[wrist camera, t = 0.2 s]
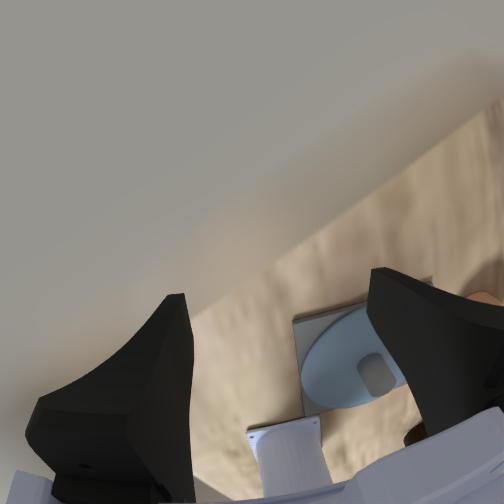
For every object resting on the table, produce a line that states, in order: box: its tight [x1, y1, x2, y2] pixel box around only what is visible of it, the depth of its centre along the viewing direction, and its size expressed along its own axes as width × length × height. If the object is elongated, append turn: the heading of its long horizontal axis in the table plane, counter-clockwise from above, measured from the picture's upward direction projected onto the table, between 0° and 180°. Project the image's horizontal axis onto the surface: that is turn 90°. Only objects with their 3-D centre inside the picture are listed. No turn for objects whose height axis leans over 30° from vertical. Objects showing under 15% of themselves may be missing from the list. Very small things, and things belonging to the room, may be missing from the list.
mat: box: [292, 282, 433, 417], centre depth 27 cm, size 13×13×1 cm
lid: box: [301, 305, 405, 408], centre depth 25 cm, size 13×13×4 cm
